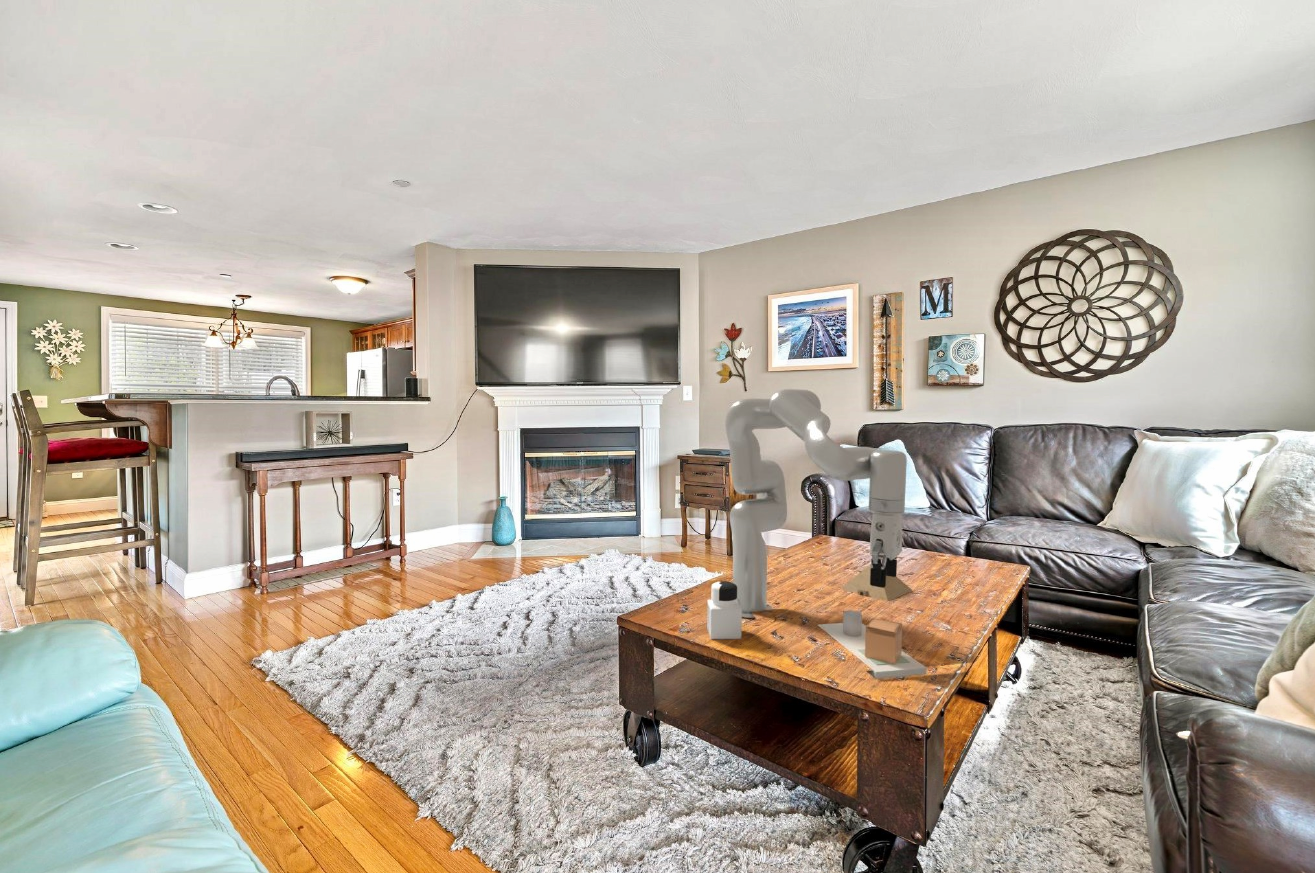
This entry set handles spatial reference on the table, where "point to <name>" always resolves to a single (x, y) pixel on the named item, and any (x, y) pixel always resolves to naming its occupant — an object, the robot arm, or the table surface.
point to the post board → (854, 641)
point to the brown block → (883, 640)
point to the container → (724, 612)
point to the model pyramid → (864, 588)
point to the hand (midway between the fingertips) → (883, 580)
